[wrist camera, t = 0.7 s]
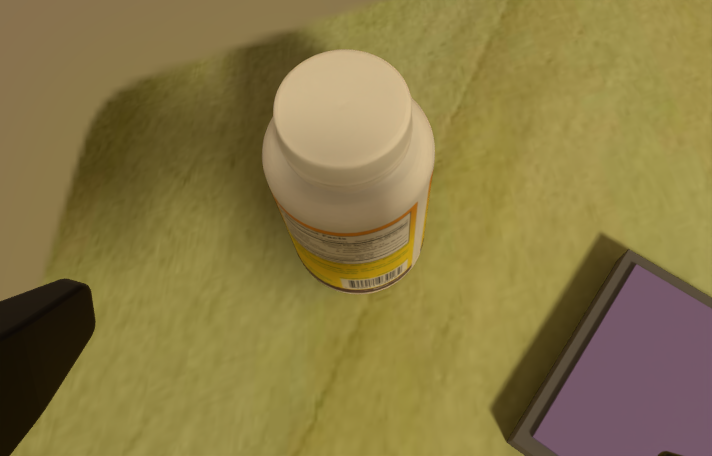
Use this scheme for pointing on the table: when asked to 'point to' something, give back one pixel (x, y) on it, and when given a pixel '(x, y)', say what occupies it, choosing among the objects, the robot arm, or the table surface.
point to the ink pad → (629, 373)
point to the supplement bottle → (350, 169)
